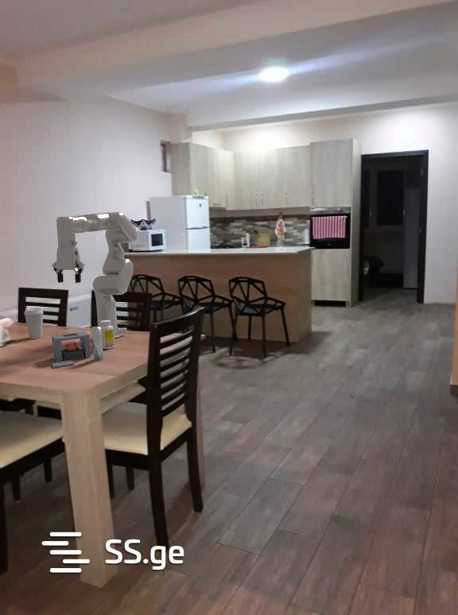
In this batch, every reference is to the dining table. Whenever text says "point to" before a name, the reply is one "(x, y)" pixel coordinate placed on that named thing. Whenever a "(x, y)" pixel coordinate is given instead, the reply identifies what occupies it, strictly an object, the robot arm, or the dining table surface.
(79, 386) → the dining table surface
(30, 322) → the coffee cup
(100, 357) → the silver metal cylinder
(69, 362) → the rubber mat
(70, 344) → the button
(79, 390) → the dining table surface
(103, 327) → the supplement bottle
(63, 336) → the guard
